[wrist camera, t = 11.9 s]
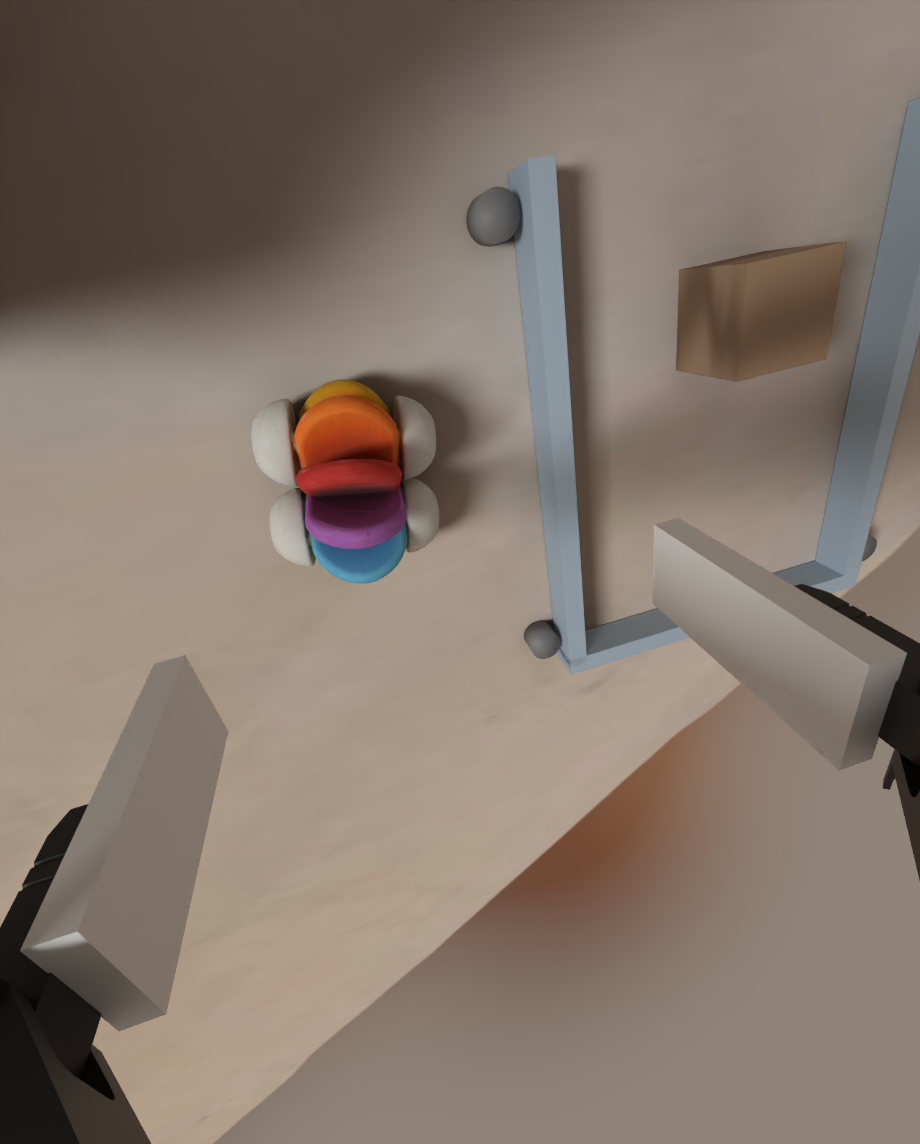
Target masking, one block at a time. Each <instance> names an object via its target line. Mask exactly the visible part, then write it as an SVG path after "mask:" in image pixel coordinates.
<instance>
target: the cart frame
mask: <svg viewBox="0 0 920 1144" xmlns="http://www.w3.org/2000/svg"><path fill="white" fill-rule="evenodd" d="M508 179H509V189H510V191H509V190H508V189H506V188H503V187H493V188H490V189H489V190H487V191H486V192H484V193H483V194H481V195H480V196H478V197H477V198H475V199H474V200H473V202H472V203H471V205H470V207H469V209H468V212H467V228H468V231H469V233H470V235H471V237H472V238H473V240H474V241H475V242H477V243H478V244H480V245H482V246H492V245H496V244H498V243H501V242H504V241H507V240H508V239H510V238H511V237H512V236H513V235H514V239H515V249H516V259H517V269H518V278H519V288H520V298H521V308H522V318H523V328H524V338H525V348H526V358H527V368H528V378H529V388H530V397H531V407H532V417H533V427H534V437H535V447H536V457H537V467H538V477H539V487H540V497H541V507H542V516H543V526H544V536H545V546H546V556H547V566H548V576H549V586H550V596H551V606H552V616H553V626H554V630H553V629H552V628H551V626H550V625H549V624H548V623H547V622H544V621H537V622H534V623H532V624H531V625H529V626H528V627H527V629H526V630H525V633H524V639H525V641H526V642H527V644H528V646H529V647H530V649H531V651H532V652H533V654H534V655H535V656H536V657H537V658H540V659H546V658H549V657H551V656H553V655H554V654H556V653H557V655H558V656H559V657H560V659H561V660H562V662H563V663H564V665H565V666H566V668H567V669H568V671H569V672H570V674H574V673H577V672H581V671H584V670H587V669H590V668H593V667H596V666H600V665H603V664H606V663H609V662H612V661H616V660H619V659H622V658H625V657H628V656H632V655H635V654H638V653H641V652H644V651H647V650H651V649H654V648H657V647H660V646H663V645H667V644H670V643H673V642H676V641H679V640H682V639H686V638H689V636H688V635H687V634H686V633H685V632H684V631H683V630H682V629H680V628H679V627H678V626H677V625H676V624H675V623H674V622H673V621H671V620H670V619H669V618H668V617H667V616H666V615H665V614H664V613H663V612H661V611H660V610H659V609H658V608H657V609H654V610H651V611H648V612H644V613H641V614H638V615H634V616H631V617H628V618H624V619H621V620H618V621H615V622H611V623H608V624H605V625H601V626H598V627H595V628H592V629H588V630H585V622H584V606H583V590H582V574H581V558H580V542H579V526H578V510H577V494H576V478H575V462H574V447H573V431H572V415H571V399H570V383H569V367H568V351H567V335H566V319H565V303H564V287H563V271H562V255H561V239H560V223H559V207H558V191H557V175H556V159H555V155H550V156H544V157H538V158H533V159H527V160H526V161H525V162H523V163H522V164H520V165H519V166H517V167H516V168H514V169H513V170H511V171H510V172H509V173H508ZM919 334H920V98H918V99H915V100H912V101H909V102H908V107H907V112H906V117H905V122H904V127H903V132H902V136H901V141H900V146H899V151H898V156H897V161H896V166H895V171H894V176H893V181H892V186H891V190H890V195H889V200H888V205H887V210H886V215H885V220H884V225H883V230H882V235H881V240H880V245H879V249H878V254H877V259H876V264H875V269H874V274H873V279H872V284H871V289H870V294H869V299H868V304H867V308H866V313H865V318H864V323H863V328H862V333H861V338H860V343H859V348H858V353H857V358H856V363H855V367H854V372H853V377H852V382H851V387H850V392H849V397H848V402H847V407H846V412H845V417H844V421H843V426H842V431H841V436H840V441H839V446H838V451H837V456H836V461H835V466H834V471H833V476H832V480H831V485H830V490H829V495H828V500H827V505H826V510H825V515H824V520H823V525H822V530H821V535H820V539H819V544H818V549H817V554H816V559H815V561H812V562H809V563H806V564H802V565H799V566H796V567H793V568H789V569H786V570H783V571H779V572H776V573H773V574H774V575H776V576H778V577H779V578H781V579H783V580H784V581H786V582H788V583H789V584H791V585H793V586H796V585H799V584H804V585H808V586H811V587H814V588H817V589H821V590H824V591H827V592H829V593H832V592H835V591H839V590H842V589H845V588H848V587H851V586H855V584H856V580H857V576H858V572H859V568H860V565H861V562H862V561H864V560H866V559H867V558H869V557H870V556H871V555H872V553H873V552H874V550H875V548H876V545H877V541H876V539H875V538H873V537H871V536H869V535H868V533H869V529H870V526H871V522H872V518H873V514H874V510H875V506H876V502H877V498H878V494H879V490H880V486H881V483H882V479H883V475H884V471H885V467H886V463H887V459H888V455H889V451H890V447H891V443H892V440H893V436H894V432H895V428H896V424H897V420H898V416H899V412H900V408H901V404H902V401H903V397H904V393H905V389H906V385H907V381H908V377H909V373H910V369H911V365H912V361H913V358H914V354H915V350H916V346H917V342H918V338H919Z"/></svg>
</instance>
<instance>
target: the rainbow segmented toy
mask: <svg viewBox="0 0 920 1144" xmlns="http://www.w3.org/2000/svg"><path fill="white" fill-rule="evenodd" d="M251 434H252V447H253V452H254V457H255V460H256V463H257V465H258V466H259V468H260V469H261V470H262V471H263V472H264V473H265V474H266V475H267V476H268V477H270V478H271V479H273V480H274V481H276V482H278V483H281V484H283V485H287V486H293V487H296V486H299V488H294V489H292V490H290V491H288V492H286V493H285V494H283V495H282V496H281V497H280V498H279V499H278V500H277V501H276V502H275V504H274V505H273V507H272V509H271V512H270V531H271V537H272V541H273V544H274V547H275V548H276V550H277V551H278V552H279V553H280V554H281V555H282V556H283V557H284V558H286V559H287V560H289V561H291V562H293V563H295V564H299V565H303V566H313V565H314V564H315V560H316V558H317V560H318V561H319V563H320V564H321V565H322V566H323V567H324V568H325V569H326V570H327V571H328V572H329V573H331V574H332V575H334V576H335V577H337V578H339V579H342V580H344V581H347V582H351V583H362V584H363V583H371V582H374V581H377V580H379V579H381V578H383V577H384V576H386V575H387V574H389V573H390V572H391V571H392V570H393V569H394V568H395V567H396V566H397V565H398V563H399V562H400V560H401V558H402V557H403V554H404V552H405V549H407V551H408V552H415V551H418V550H420V549H422V548H423V547H425V546H426V545H427V544H429V543H430V542H431V541H432V539H433V538H434V537H435V535H436V533H437V531H438V528H439V508H438V503H437V499H436V496H435V494H434V493H433V491H432V490H431V489H430V488H429V487H428V486H427V485H426V484H424V483H423V482H421V481H420V480H417V479H415V478H413V477H416V476H417V475H419V474H421V473H422V472H423V471H425V470H426V468H427V467H428V466H429V465H430V464H431V462H432V461H433V459H434V456H435V453H436V431H435V425H434V421H433V418H432V416H431V415H430V413H429V412H428V411H427V410H426V409H425V408H424V407H423V406H422V405H421V404H420V403H418V402H417V401H415V400H413V399H411V398H408V397H404V396H396V397H395V398H394V402H393V418H392V416H391V414H390V411H389V408H388V406H387V405H385V404H384V402H383V401H382V400H381V399H380V398H379V396H378V395H377V394H376V393H375V392H374V391H373V390H371V389H370V388H369V387H367V386H366V385H363V384H361V383H359V382H356V381H354V380H335V381H332V382H329V383H326V384H324V385H322V386H321V387H319V388H318V389H317V390H315V391H314V392H313V393H312V394H311V395H310V397H309V398H308V399H307V400H306V402H305V404H304V405H303V407H302V409H301V410H300V413H299V423H298V425H297V427H296V420H295V415H294V410H293V406H292V403H291V401H290V400H289V399H281V400H277V401H274V402H272V403H270V404H269V405H267V406H266V407H264V408H263V409H262V410H261V411H260V412H259V414H258V415H257V416H256V417H255V419H254V421H253V424H252V430H251Z"/></svg>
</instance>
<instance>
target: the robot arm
mask: <svg viewBox="0 0 920 1144" xmlns="http://www.w3.org/2000/svg"><path fill="white" fill-rule="evenodd" d="M653 604H654V605H655V606H656V607H657V608H658V609H659V610H660V611H661V612H663V613H664V614H665V615H666V616H667V617H668V618H669V619H670V620H671V621H673V622H674V623H675V624H676V625H677V626H678V627H679V628H680V629H682V630H683V631H684V632H685V633H686V634H687V635H688V636H689V637H690V638H692V639H693V640H694V641H695V642H696V643H697V644H698V645H699V646H700V647H702V648H703V649H704V650H705V651H706V652H707V653H708V654H709V655H711V656H712V657H713V658H714V659H715V660H716V661H717V662H718V663H719V664H721V665H722V666H723V667H724V668H725V669H726V670H727V671H728V672H730V673H731V674H732V675H733V676H734V677H735V678H736V679H737V680H738V681H740V682H741V683H742V684H743V685H744V686H745V687H746V688H747V689H749V690H750V691H751V692H752V693H753V694H754V695H755V696H756V697H757V698H759V699H760V700H761V701H762V702H763V703H764V704H765V705H766V706H768V707H769V708H770V709H771V710H772V711H773V712H774V713H776V714H777V715H778V716H779V717H780V718H781V719H782V720H783V721H784V722H785V723H787V724H788V725H789V726H790V727H791V728H792V729H793V730H794V731H795V732H797V733H798V734H799V735H800V736H801V737H802V738H803V739H805V740H806V741H807V742H808V743H809V744H810V745H811V746H812V747H813V748H814V749H816V750H817V751H818V752H819V753H820V754H821V755H822V756H824V757H825V758H826V759H827V760H828V761H829V762H830V763H831V764H832V765H834V766H835V767H836V768H837V769H838V770H842V769H844V768H847V767H850V766H853V765H855V764H858V763H861V762H864V761H866V760H869V759H872V756H873V753H874V750H875V747H876V744H877V741H878V738H879V737H880V738H881V739H883V740H884V741H885V742H886V743H888V744H889V745H890V746H892V747H893V748H894V752H893V755H892V758H891V760H890V763H889V766H888V769H887V771H886V774H885V777H884V781H883V788H884V789H890V787H891V785H892V782H893V780H894V779H895V778H896V782H897V786H898V790H899V795H900V799H901V803H902V808H903V812H904V816H905V820H906V825H907V829H908V833H909V837H910V841H911V846H912V849H913V854H914V858H915V862H916V867H917V871H918V875H919V879H920V643H918V642H916V641H914V640H913V639H911V638H909V637H907V636H906V635H904V634H902V633H900V632H898V631H897V630H895V629H893V628H891V627H890V626H888V625H886V624H884V623H882V622H881V621H879V620H877V619H875V618H874V617H872V616H869V617H868V616H867V615H866V613H865V612H863V611H861V610H859V609H858V608H856V607H854V606H851V607H850V606H849V603H847V602H845V601H843V600H842V599H840V598H838V597H836V596H834V595H833V594H831V593H829V592H827V591H824V590H821V589H817V588H814V587H811V586H808V585H804V584H799V585H796V586H793V585H791V584H789V583H788V582H786V581H784V580H783V579H781V578H779V577H778V576H776V575H774V574H772V573H771V572H769V571H767V570H766V569H764V568H762V567H761V566H759V565H757V564H756V563H754V562H752V561H750V560H749V559H747V558H745V557H744V556H742V555H740V554H739V553H737V552H735V551H734V550H732V549H730V548H728V547H727V546H725V545H723V544H722V543H720V542H718V541H717V540H715V539H713V538H712V537H710V536H708V535H706V534H705V533H703V532H701V531H700V530H698V529H696V528H695V527H693V526H691V525H689V524H688V523H686V522H684V521H683V520H681V519H679V518H676V519H672V520H669V521H665V522H662V523H658V524H654V561H653ZM227 734H228V730H227V728H226V726H225V725H224V723H223V721H222V719H221V718H220V716H219V714H218V712H217V710H216V709H215V707H214V705H213V703H212V702H211V700H210V698H209V696H208V695H207V693H206V691H205V689H204V688H203V686H202V684H201V682H200V681H199V679H198V677H197V675H196V674H195V672H194V670H193V668H192V667H191V665H190V663H189V661H188V660H187V658H186V656H181V657H178V658H174V659H170V660H167V661H163V662H160V663H156V664H154V665H153V668H152V670H151V672H150V674H149V676H148V678H147V680H146V683H145V685H144V687H143V689H142V691H141V693H140V695H139V697H138V700H137V702H136V704H135V706H134V708H133V710H132V712H131V715H130V717H129V719H128V721H127V723H126V725H125V727H124V730H123V732H122V734H121V736H120V738H119V740H118V742H117V744H116V747H115V749H114V751H113V753H112V755H111V757H110V759H109V762H108V764H107V766H106V768H105V770H104V772H103V774H102V777H101V779H100V781H99V783H98V785H97V787H96V789H95V791H94V794H93V796H92V798H91V800H90V802H89V804H87V805H84V806H80V807H77V808H74V809H71V810H70V811H69V812H68V813H67V814H66V815H65V816H64V818H63V819H62V820H61V821H60V822H59V823H58V825H57V826H56V827H55V828H54V829H53V830H52V832H51V833H50V834H49V835H48V836H47V838H46V840H45V842H44V844H43V846H42V848H41V850H40V852H39V854H38V856H37V858H36V860H35V861H34V868H31V869H30V871H29V873H28V875H27V877H26V879H25V881H24V883H23V885H22V887H23V889H22V891H19V892H18V894H17V896H16V898H15V900H14V902H13V904H12V906H11V908H10V910H9V912H8V914H7V916H6V917H5V919H4V921H3V923H2V925H1V927H0V1144H151V1142H150V1141H149V1139H148V1137H147V1135H146V1133H145V1131H144V1129H143V1128H142V1126H141V1124H140V1122H139V1120H138V1118H137V1117H136V1115H135V1113H134V1111H133V1109H132V1107H131V1106H130V1104H129V1102H128V1100H127V1098H126V1096H125V1094H124V1093H123V1091H122V1089H121V1087H120V1085H119V1083H118V1082H117V1080H116V1078H115V1076H114V1074H113V1072H112V1071H111V1069H110V1067H109V1065H108V1063H107V1061H106V1060H105V1058H104V1056H103V1054H102V1052H101V1051H100V1050H98V1049H97V1048H96V1047H95V1046H94V1045H92V1043H93V1040H94V1037H95V1034H96V1030H97V1027H98V1024H99V1021H100V1018H101V1017H102V1018H103V1019H105V1020H106V1021H107V1022H108V1023H110V1024H111V1025H112V1026H113V1027H114V1028H116V1029H117V1030H118V1031H121V1030H124V1029H126V1028H129V1027H132V1026H135V1025H137V1024H140V1023H143V1022H146V1021H148V1020H151V1019H154V1018H157V1017H159V1016H162V1015H165V1014H166V1012H167V1008H168V1003H169V999H170V994H171V990H172V985H173V981H174V976H175V971H176V967H177V962H178V958H179V953H180V949H181V944H182V940H183V935H184V930H185V926H186V921H187V917H188V912H189V908H190V903H191V899H192V894H193V889H194V885H195V880H196V876H197V871H198V867H199V862H200V857H201V853H202V848H203V844H204V839H205V835H206V830H207V826H208V821H209V816H210V812H211V807H212V803H213V798H214V794H215V789H216V785H217V780H218V775H219V771H220V766H221V762H222V757H223V753H224V748H225V744H226V739H227Z"/></svg>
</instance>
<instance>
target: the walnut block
mask: <svg viewBox="0 0 920 1144" xmlns="http://www.w3.org/2000/svg"><path fill="white" fill-rule="evenodd" d="M845 245H846V241H845V242H837V243H829V244H820V245H812V246H804V247H796V248H787V249H779V250H771V251H763V252H759V253H754V254H750V255H745V256H741V257H736V258H731V259H727V260H722V261H718V262H713V263H709V264H704V265H700V266H695V267H691V268H686V269H682V270H679V296H678V328H677V359H676V370H677V371H682V372H687V373H693V374H698V375H704V376H709V377H715V378H720V379H726V380H731V381H736V382H738V381H742V380H746V379H750V378H753V377H757V376H761V375H765V374H769V373H773V372H777V371H781V370H785V369H789V368H793V367H797V366H801V365H805V364H808V363H812V362H816V361H820V360H824V359H826V358H827V352H828V346H829V340H830V334H831V328H832V322H833V316H834V310H835V305H836V299H837V293H838V287H839V281H840V275H841V269H842V263H843V257H844V251H845Z"/></svg>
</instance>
